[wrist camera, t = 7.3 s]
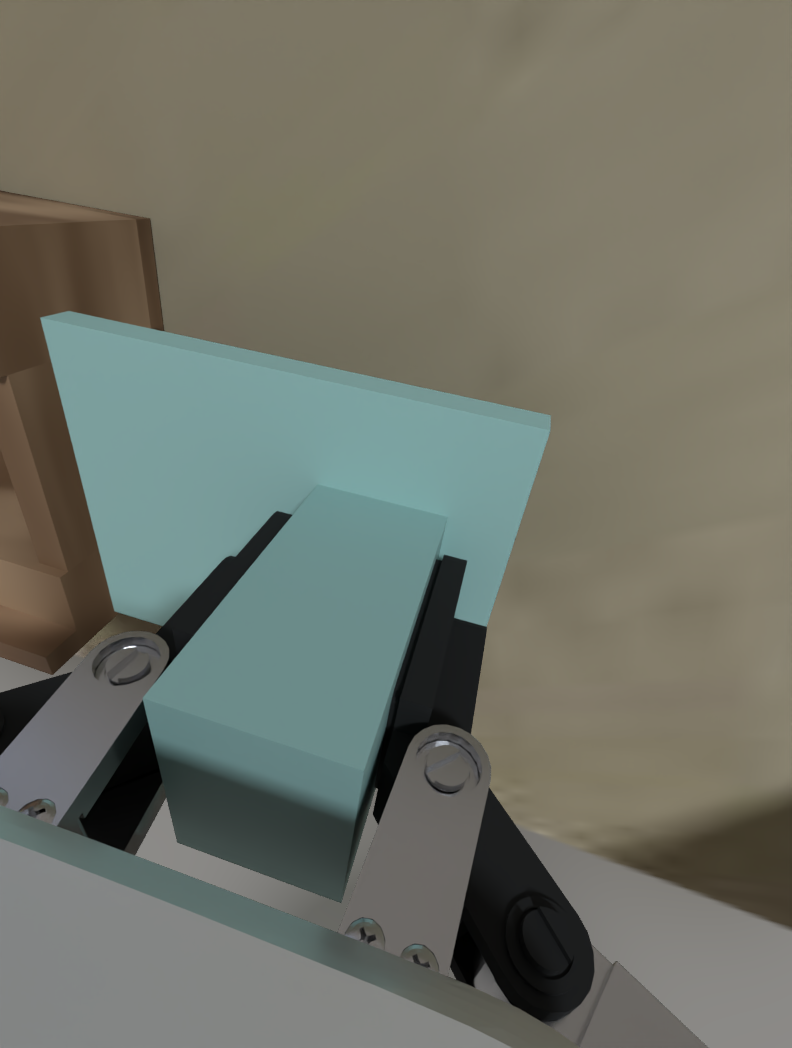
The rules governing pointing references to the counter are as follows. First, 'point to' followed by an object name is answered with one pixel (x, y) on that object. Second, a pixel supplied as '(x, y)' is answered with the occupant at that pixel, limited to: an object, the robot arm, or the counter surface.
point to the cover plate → (263, 452)
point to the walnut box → (55, 416)
